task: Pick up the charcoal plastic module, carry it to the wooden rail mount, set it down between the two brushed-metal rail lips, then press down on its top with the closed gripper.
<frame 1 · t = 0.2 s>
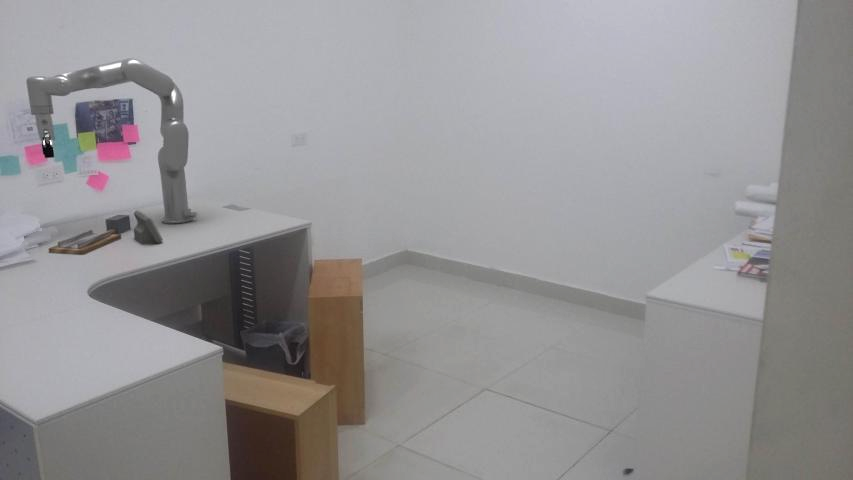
hand: (48, 155, 278), 31 cm above the table, fingers open, 9 cm apart
module: (119, 232, 290), on the table
rail mount: (86, 245, 271), on the table
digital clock: (149, 240, 277), on the table
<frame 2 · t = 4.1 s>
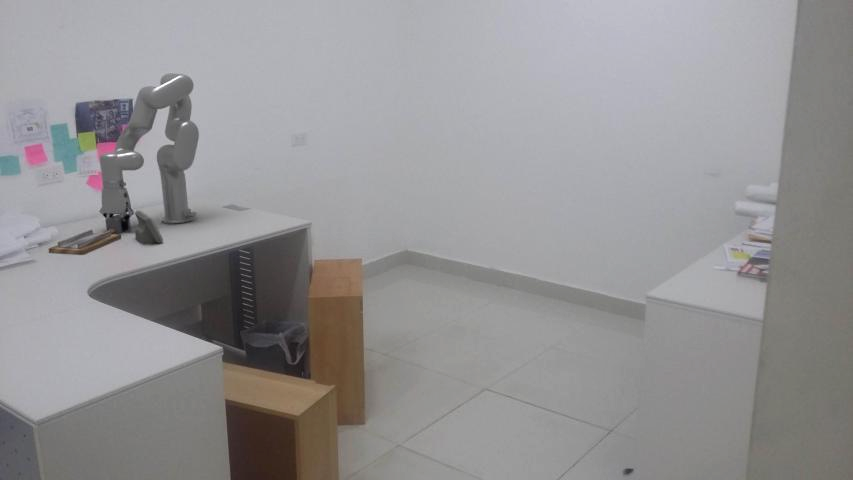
hand: (118, 229, 289), 1 cm above the table, fingers closed on module, 5 cm apart
module: (119, 231, 290), on the table, touching gripper
everything else where it was.
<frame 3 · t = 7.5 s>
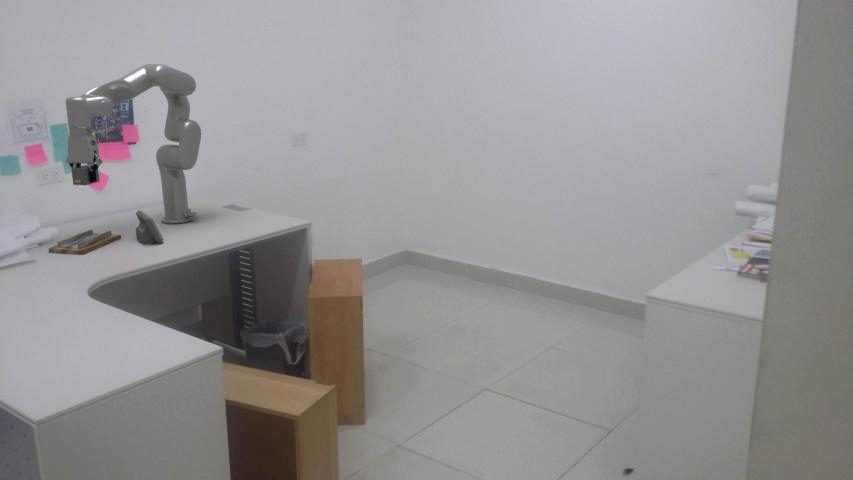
hand: (86, 181, 269), 23 cm above the table, fingers closed on module, 5 cm apart
module: (86, 183, 269), point 22 cm above the table, touching gripper
everything else where it was.
when the fingers open (4 cm above the table, at t = 10.8 s): module drops 1 cm, resting on rail mount.
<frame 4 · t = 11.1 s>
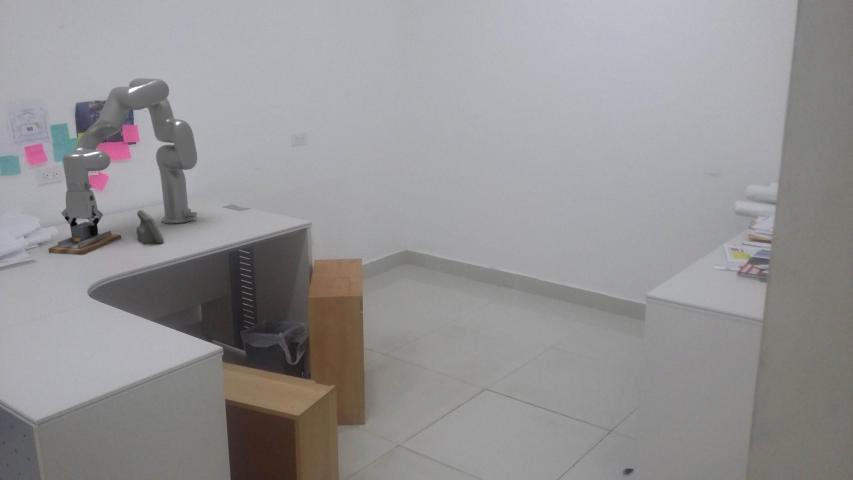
hand: (84, 234, 270), 4 cm above the table, fingers open, 7 cm apart
module: (85, 240, 270), point 2 cm above the table, touching rail mount
everything else where it was.
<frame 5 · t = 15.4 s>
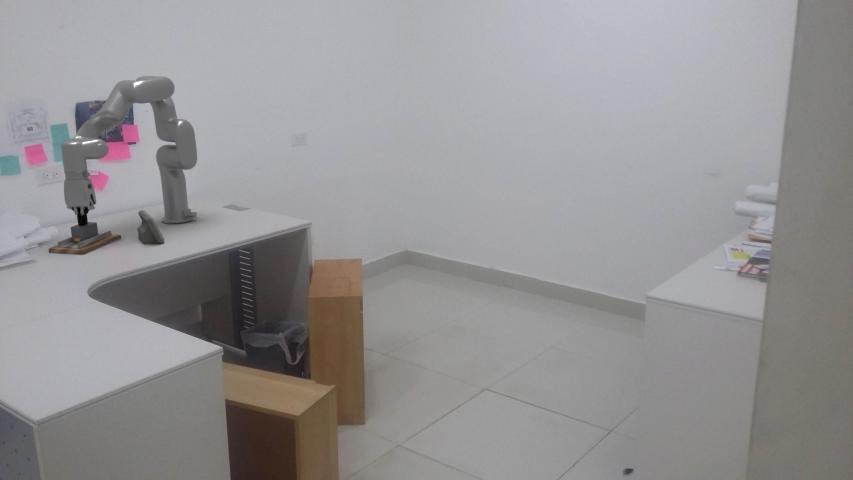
hand: (83, 224, 269), 8 cm above the table, fingers closed
module: (85, 240, 270), point 2 cm above the table, touching gripper, rail mount
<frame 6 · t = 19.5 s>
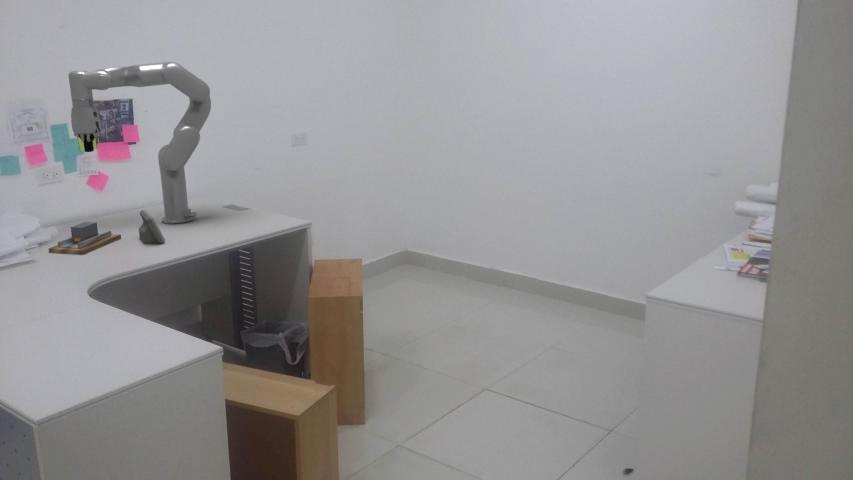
hand: (89, 151, 286), 31 cm above the table, fingers closed
module: (85, 240, 270), point 2 cm above the table, touching rail mount
at the end: module inside the target area on the rail mount (0.1 cm from its centre), point 1.8 cm above the rail mount's base; module tilted 0°; the gripper is holding nothing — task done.
